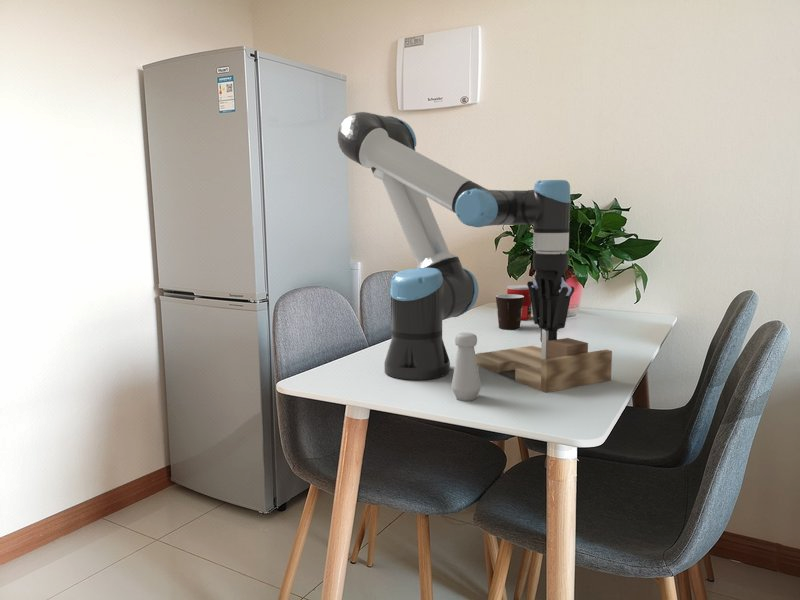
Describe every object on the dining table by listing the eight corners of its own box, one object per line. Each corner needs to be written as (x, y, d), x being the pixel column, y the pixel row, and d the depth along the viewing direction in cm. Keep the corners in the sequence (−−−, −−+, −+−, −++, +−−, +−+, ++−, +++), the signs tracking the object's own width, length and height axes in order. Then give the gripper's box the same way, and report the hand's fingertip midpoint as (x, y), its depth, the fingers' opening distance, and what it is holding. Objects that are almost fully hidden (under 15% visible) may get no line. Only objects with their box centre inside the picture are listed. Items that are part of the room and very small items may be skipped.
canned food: (533, 320, 202) (533, 287, 200) (509, 320, 201) (509, 287, 200) (528, 316, 209) (528, 284, 207) (505, 316, 209) (505, 285, 207)
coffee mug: (504, 324, 196) (504, 293, 194) (528, 327, 190) (529, 295, 189) (484, 330, 187) (485, 297, 185) (509, 333, 181) (510, 300, 180)
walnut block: (566, 374, 127) (566, 346, 127) (546, 367, 133) (547, 340, 132) (587, 370, 130) (588, 342, 129) (567, 364, 135) (568, 337, 135)
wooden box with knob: (545, 392, 123) (546, 361, 122) (473, 364, 146) (474, 337, 145) (610, 380, 131) (612, 350, 130) (533, 355, 154) (533, 330, 153)
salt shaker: (469, 391, 125) (470, 329, 123) (486, 399, 120) (487, 334, 118) (445, 396, 122) (445, 332, 120) (461, 404, 117) (462, 337, 115)
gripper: (585, 253, 128) (581, 362, 132) (544, 249, 140) (542, 350, 143) (557, 255, 125) (554, 366, 128) (518, 251, 136) (516, 353, 140)
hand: (548, 357), depth 136 cm, fingers closed
